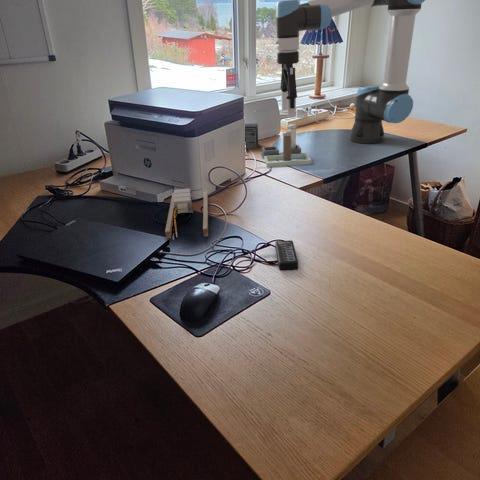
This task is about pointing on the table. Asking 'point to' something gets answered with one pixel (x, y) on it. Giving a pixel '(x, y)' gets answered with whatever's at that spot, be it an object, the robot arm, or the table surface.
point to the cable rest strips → (171, 216)
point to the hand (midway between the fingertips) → (288, 113)
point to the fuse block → (277, 151)
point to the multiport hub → (286, 255)
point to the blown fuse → (287, 145)
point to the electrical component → (182, 203)
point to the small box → (251, 135)
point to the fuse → (293, 135)
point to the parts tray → (287, 163)
